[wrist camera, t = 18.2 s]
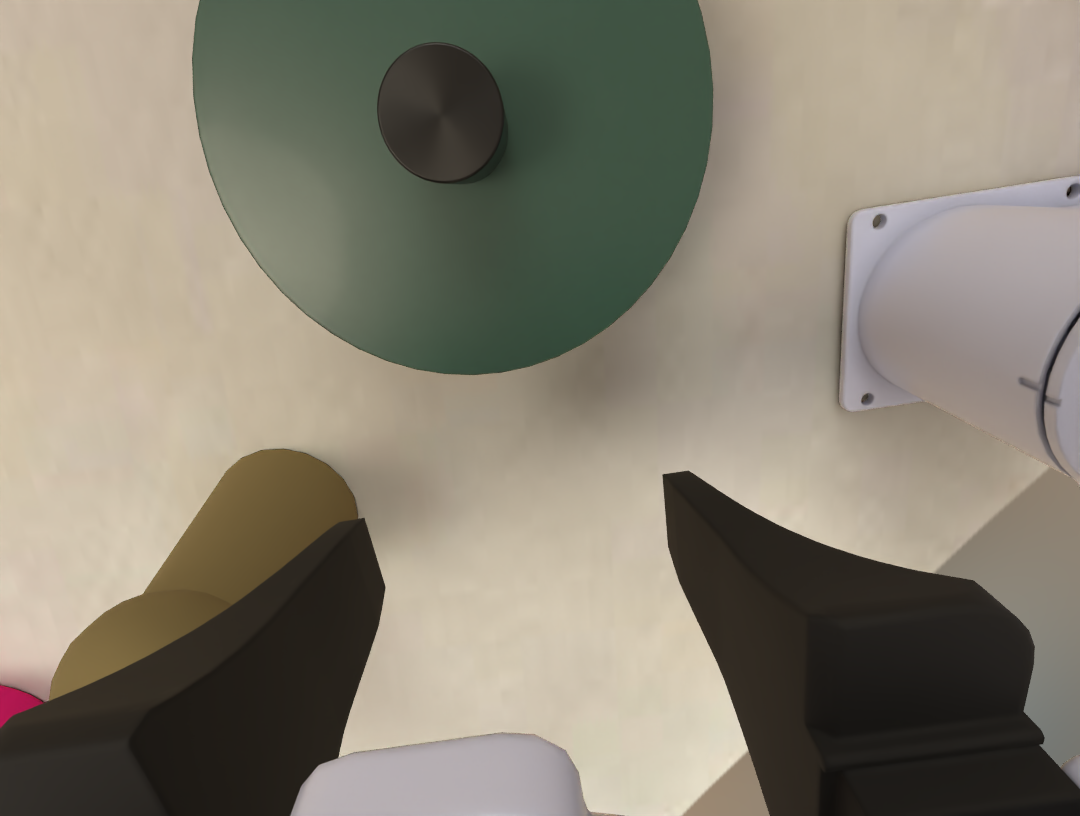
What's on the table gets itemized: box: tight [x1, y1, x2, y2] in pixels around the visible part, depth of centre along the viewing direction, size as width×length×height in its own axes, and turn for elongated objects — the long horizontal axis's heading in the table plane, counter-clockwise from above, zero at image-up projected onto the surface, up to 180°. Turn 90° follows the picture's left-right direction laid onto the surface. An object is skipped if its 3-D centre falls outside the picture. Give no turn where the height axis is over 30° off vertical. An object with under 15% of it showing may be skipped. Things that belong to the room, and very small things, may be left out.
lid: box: [192, 0, 713, 375], centre depth 13 cm, size 12×12×4 cm
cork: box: [49, 449, 358, 701], centre depth 20 cm, size 6×6×11 cm
